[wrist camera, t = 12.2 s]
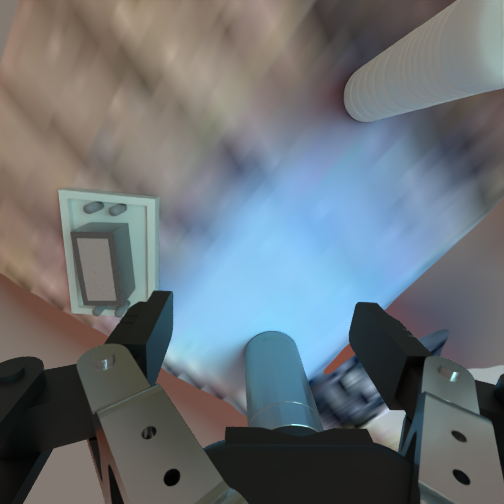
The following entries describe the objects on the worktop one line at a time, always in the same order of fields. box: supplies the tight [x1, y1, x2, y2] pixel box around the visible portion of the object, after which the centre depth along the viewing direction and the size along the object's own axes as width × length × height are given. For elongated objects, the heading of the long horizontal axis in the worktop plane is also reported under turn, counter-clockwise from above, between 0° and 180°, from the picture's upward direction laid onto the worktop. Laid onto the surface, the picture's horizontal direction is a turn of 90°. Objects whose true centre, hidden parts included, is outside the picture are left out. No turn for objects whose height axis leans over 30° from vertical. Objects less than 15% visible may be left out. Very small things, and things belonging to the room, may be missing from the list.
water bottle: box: [344, 0, 504, 122], centre depth 24 cm, size 9×6×25 cm
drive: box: [70, 222, 136, 306], centre depth 37 cm, size 10×5×5 cm, turn 178°
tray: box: [58, 188, 159, 317], centre depth 39 cm, size 18×12×4 cm, turn 174°
